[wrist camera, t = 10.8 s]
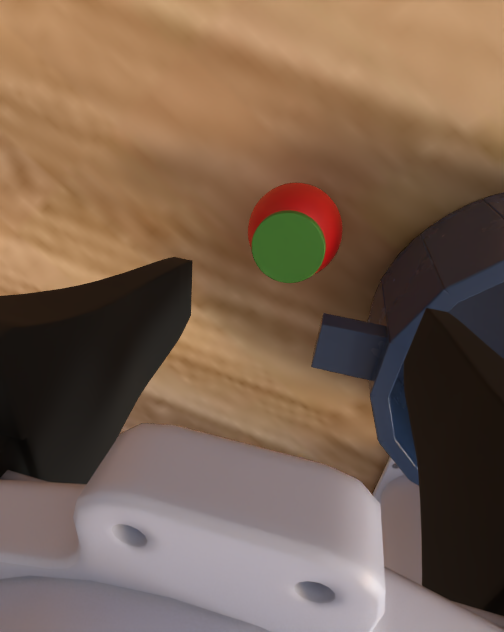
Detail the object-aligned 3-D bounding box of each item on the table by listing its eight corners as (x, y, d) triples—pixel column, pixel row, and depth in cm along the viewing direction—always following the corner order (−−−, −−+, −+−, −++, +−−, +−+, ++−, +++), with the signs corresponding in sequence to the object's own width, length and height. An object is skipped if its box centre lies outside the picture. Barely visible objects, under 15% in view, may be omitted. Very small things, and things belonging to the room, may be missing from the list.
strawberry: (333, 258, 21) (328, 304, 16) (257, 244, 21) (233, 285, 17) (353, 177, 18) (352, 207, 14) (267, 164, 19) (242, 188, 15)
